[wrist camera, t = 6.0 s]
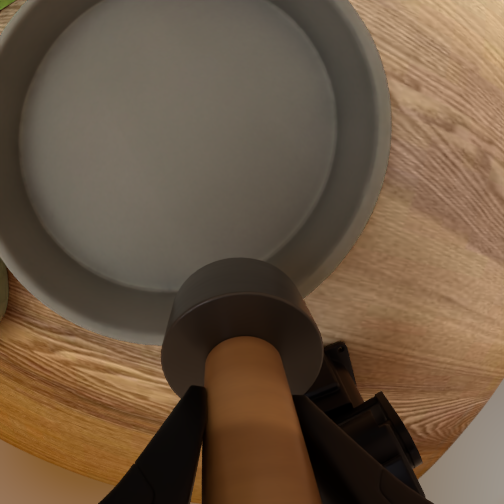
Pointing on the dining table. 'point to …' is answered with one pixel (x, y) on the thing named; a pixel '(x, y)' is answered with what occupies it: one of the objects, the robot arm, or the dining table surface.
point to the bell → (5, 3)
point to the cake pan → (183, 148)
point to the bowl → (3, 288)
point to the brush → (246, 378)
